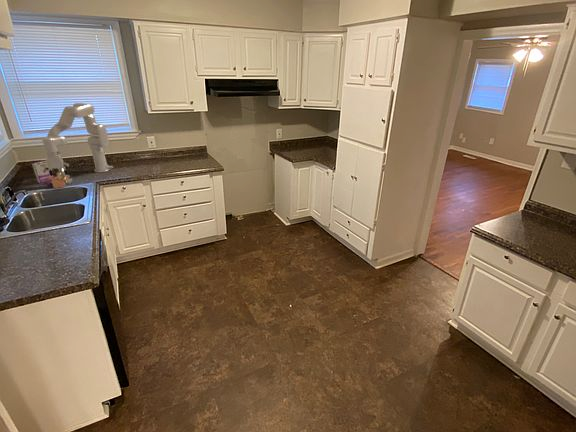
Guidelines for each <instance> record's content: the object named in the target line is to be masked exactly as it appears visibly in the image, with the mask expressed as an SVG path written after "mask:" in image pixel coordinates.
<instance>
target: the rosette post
mask: <svg viewBox="0 0 576 432" xmlns="http://www.w3.org/2000/svg"><path fill="white" fill-rule="evenodd" d="M57 170H58V173H59V172H61V174H62V177H63V179H58V177H57V176H54V178H53V179H52V180H51V181H50V183H51V184H52V186H53V189H59V188H61V189H62V188H67V186H66V184H70V183H71V182H72V181H73V178H70V177H71V175H69V174H67V175H65V173H64V169H63V168H57Z"/></svg>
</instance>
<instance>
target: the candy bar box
mask: <svg viewBox="0 0 576 432" xmlns="http://www.w3.org/2000/svg"><path fill="white" fill-rule="evenodd" d="M45 164H47V160H42V161H38V162H33V163H31V165H32V168H33V172H34V174H35V178H36V180H37V182H38V184H44V183H45V184H46V183H49V182H50V183H51V180H52V179H53V178H54V177H55V174H54V171H53V169H51V170H52V173H53V176H51V175H50V173H49V171H48V170H46V169H45V168H44V167H43V166H44V165H45ZM46 167H47V168H49V167H48V165H47V166H46Z"/></svg>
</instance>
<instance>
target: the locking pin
mask: <svg viewBox="0 0 576 432" xmlns="http://www.w3.org/2000/svg"><path fill="white" fill-rule="evenodd" d="M56 177H58V179H63V177H62V174H61V172H59V171H58V172H56Z"/></svg>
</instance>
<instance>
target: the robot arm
mask: <svg viewBox="0 0 576 432" xmlns="http://www.w3.org/2000/svg"><path fill="white" fill-rule="evenodd" d="M94 113H95V107H94V106H93V105H92V104H90V103H82V102H81V103H80V102H77V103H73V106H70V105H67V106H65V107H63V110H62V113H61V116H60V117H59V120H58V122H56V124H54V125H53V126H52V127H50V130H49V131H48V132H47V133H48V134H47V136H46V137H43V138H42V143H43V146H44V147H43V148H44V150H45V153H46V161H47V164H45V165H44V166H43V167H44V168H45V169H46V170H48V171H49V173H50V175H51V176H53V174H54V172H53V173H52V171H53V170H54V169H58V168H63V169H64V173H65V175H68V173H69V172H68V169H69V167H70V163H67V162H64V161H65V160H64V159H63V157H62V155H61V153H62V152H61V151H59V150H58V147H63V146H65V145H66V144H68V139H67V138H66V137H65V136H62V135H60V134H61V133H62V132H63V131H66V130H69V129H70V128H72V125H73V123H74V121H75V118H78V119H80V118H82V119H83V122H84V125H85V129H86V133H87V134H89V135H90V136H89V137H88V139H87V143H88V145H89V148H90V151H91V154H92V158H93V162H94V165H95V166H94V167H95V169H94V170H93V171H94V172H95V173H105V172H108V171H110V170H111V169H113V168H114V166H113V165H109V164H108V163H107V159H106V156H105V151H104V149H105V148H107V147H109V145H110V139H109V136H108V135H109V134H108V132H107V129H106V127H105V126H104V125H103V124H101V123H97V121H96V117H95V116H94ZM47 165H48V167H49V168H47V167H46V166H47ZM65 165H66V166H65ZM51 169H52V170H51Z"/></svg>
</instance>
